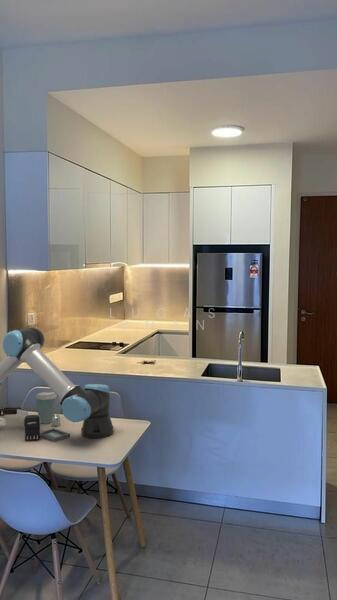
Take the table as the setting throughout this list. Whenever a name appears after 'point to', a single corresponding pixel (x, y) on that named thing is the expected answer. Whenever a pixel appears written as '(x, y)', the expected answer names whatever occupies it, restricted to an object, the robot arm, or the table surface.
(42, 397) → the disposable coffee cup
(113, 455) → the table surface
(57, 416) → the short grey cell
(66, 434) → the dock
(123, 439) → the table surface
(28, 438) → the battery charger
